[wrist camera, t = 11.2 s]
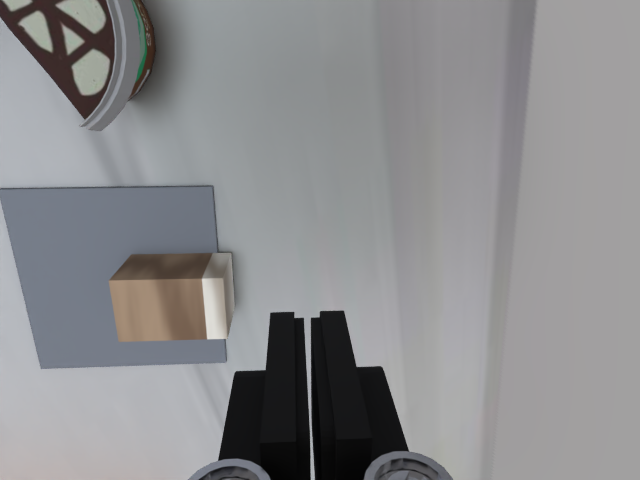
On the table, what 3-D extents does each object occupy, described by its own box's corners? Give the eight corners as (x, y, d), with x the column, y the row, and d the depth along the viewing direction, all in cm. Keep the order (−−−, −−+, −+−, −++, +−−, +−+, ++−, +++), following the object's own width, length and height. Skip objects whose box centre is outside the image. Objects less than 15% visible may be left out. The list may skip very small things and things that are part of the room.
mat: (213, 185, 36) (212, 186, 36) (226, 359, 42) (226, 362, 42) (1, 188, 36) (-2, 189, 35) (43, 366, 41) (41, 368, 41)
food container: (209, 71, 34) (178, 70, 24) (142, 118, 34) (86, 135, 25) (92, -103, 30) (0, -183, 20) (19, -45, 31) (-102, -96, 21)
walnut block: (222, 278, 33) (108, 280, 33) (227, 338, 35) (118, 341, 35) (231, 252, 38) (131, 254, 38) (235, 307, 40) (139, 309, 39)
